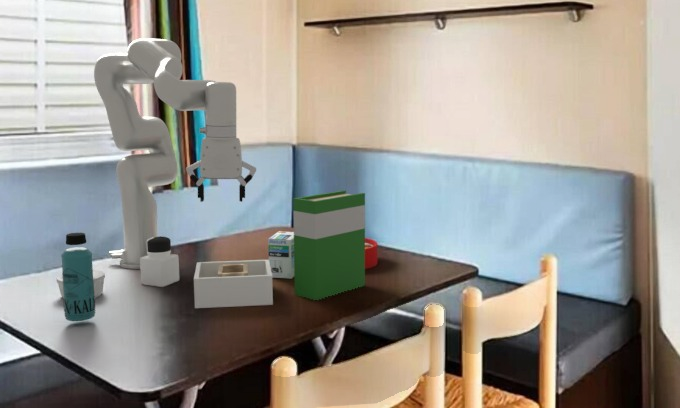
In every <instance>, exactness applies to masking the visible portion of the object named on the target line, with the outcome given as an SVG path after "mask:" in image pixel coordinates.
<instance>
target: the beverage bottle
mask: <svg viewBox="0 0 680 408" xmlns="http://www.w3.org/2000/svg"><path fill="white" fill-rule="evenodd" d="M86 243H87V237H86V233H85V232H70V233H66V235H65V245H68V246H77V247H70V248H66V249H65V250H64V251H63V252H62V253H61V254H60V255H61V256H60V257H61V266H62V267H61V268H62V269H61V270H62V272H61V274H62V275H63V286H62V287H63V291H64V298H63V301H62V302H63V312H64V318H65V320H66V321H70V322H83V321H88V320H91V319H93V318H94V317H95V316H96V304H95V303H96V300H95V299H96V298H94V297H95V296H94V289H95V288H94V281H93V270H94V269H93V268H94V267H93V253H92V251H91V250H90V249H88V248H86V247H81V246H79V245H83V244H84V245H85V244H86Z"/></svg>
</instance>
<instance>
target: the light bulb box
mask: <svg viewBox="0 0 680 408" xmlns="http://www.w3.org/2000/svg"><path fill="white" fill-rule="evenodd" d="M267 245H268V247H267V250H268V260H269V263H270V267H271V272H272V279H274V278H275V279H276V278H277V279H290V280H291V279H294V231H282V230H279V231H277V232H276V233H274V234H273V235H272V236H270V237H269V238H268V240H267Z"/></svg>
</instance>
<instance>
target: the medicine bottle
mask: <svg viewBox="0 0 680 408" xmlns="http://www.w3.org/2000/svg"><path fill="white" fill-rule="evenodd" d="M171 242H172V241H171V238H170V237H167V236H160V235H159V236H158V237H152V238H150V239H148V240H147V254H148V255H147V256H144V257H141V258H140V269H139V271H140V284H141V285H144V286H151V287H156V288H157V287H159V288H164V287H167V286H170V285H171V284H174V283H177V282H179V281H180V264H179V263H180V262H179V255H178V254H175V253H172V247H171V246H172V245H171V244H172V243H171Z"/></svg>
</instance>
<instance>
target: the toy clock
mask: <svg viewBox="0 0 680 408" xmlns="http://www.w3.org/2000/svg"><path fill="white" fill-rule="evenodd" d="M376 265H378V242H377V241H376V240H374V239H372V238H367V237H365V270H367V269H370V268H374V267H375V266H376Z"/></svg>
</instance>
